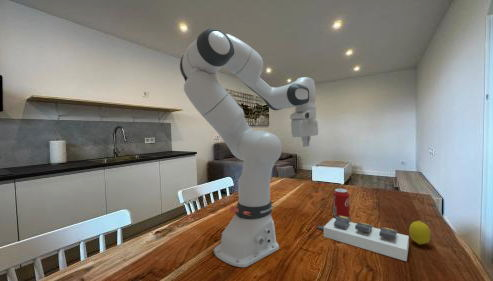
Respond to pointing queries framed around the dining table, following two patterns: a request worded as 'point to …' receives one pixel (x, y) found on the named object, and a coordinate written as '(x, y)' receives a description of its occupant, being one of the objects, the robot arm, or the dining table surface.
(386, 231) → the rocker
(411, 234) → the lemon
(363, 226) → the rocker
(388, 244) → the rocker switch panel
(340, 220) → the rocker
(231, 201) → the dining table surface
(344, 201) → the beverage can
